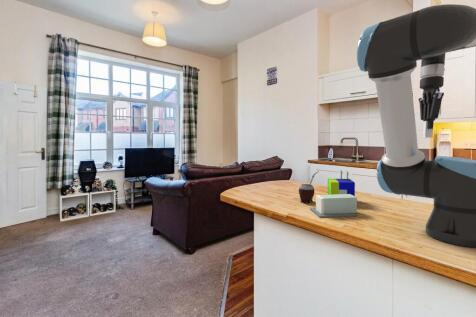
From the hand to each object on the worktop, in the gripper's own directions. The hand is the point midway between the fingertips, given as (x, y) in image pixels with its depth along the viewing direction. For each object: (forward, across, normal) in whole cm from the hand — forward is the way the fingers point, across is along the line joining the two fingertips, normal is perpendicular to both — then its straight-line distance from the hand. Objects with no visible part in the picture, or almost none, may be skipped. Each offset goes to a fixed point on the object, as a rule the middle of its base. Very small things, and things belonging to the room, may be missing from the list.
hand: (427, 137), depth 102 cm
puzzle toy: (+30, +9, +30) cm, 44 cm away
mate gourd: (+31, +8, +45) cm, 55 cm away
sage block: (+27, -7, +29) cm, 40 cm away
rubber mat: (+31, -9, +37) cm, 49 cm away
